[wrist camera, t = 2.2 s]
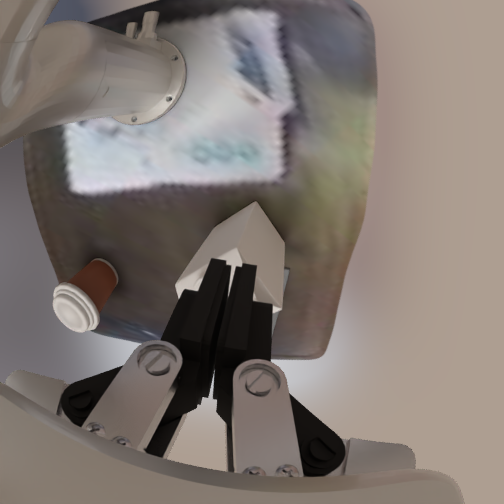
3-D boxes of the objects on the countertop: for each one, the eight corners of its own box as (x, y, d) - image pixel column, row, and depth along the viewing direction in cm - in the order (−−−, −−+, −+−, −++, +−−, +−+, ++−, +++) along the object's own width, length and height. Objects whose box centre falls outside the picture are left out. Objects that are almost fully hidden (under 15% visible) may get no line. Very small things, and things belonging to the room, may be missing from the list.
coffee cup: (128, 298, 46) (99, 344, 35) (89, 288, 46) (57, 328, 35) (121, 255, 41) (84, 300, 31) (80, 247, 41) (40, 285, 31)
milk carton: (285, 242, 37) (281, 340, 20) (243, 266, 40) (211, 365, 23) (256, 200, 35) (226, 271, 18) (214, 227, 38) (157, 309, 21)
